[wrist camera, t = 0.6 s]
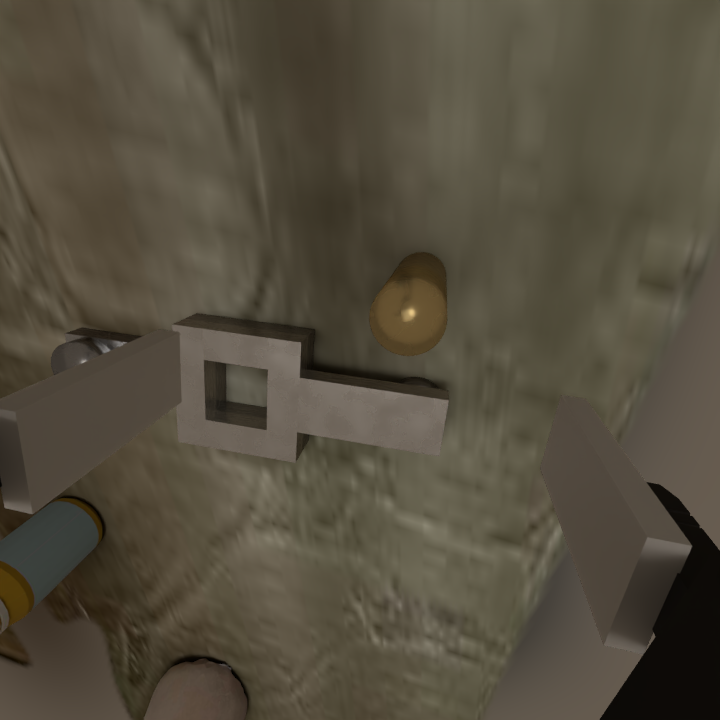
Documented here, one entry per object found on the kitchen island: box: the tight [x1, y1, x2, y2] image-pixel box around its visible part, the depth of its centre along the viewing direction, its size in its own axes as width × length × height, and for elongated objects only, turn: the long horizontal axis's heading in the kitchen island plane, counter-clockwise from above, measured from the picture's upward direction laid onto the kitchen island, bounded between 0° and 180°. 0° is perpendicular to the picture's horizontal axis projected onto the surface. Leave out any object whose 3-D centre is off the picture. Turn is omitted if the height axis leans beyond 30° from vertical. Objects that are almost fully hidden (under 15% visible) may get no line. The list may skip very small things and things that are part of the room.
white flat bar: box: [51, 313, 449, 463], centre depth 40 cm, size 11×35×4 cm, turn 85°
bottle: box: [0, 498, 102, 634], centre depth 45 cm, size 7×7×15 cm
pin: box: [369, 252, 447, 356], centre depth 30 cm, size 4×4×14 cm
